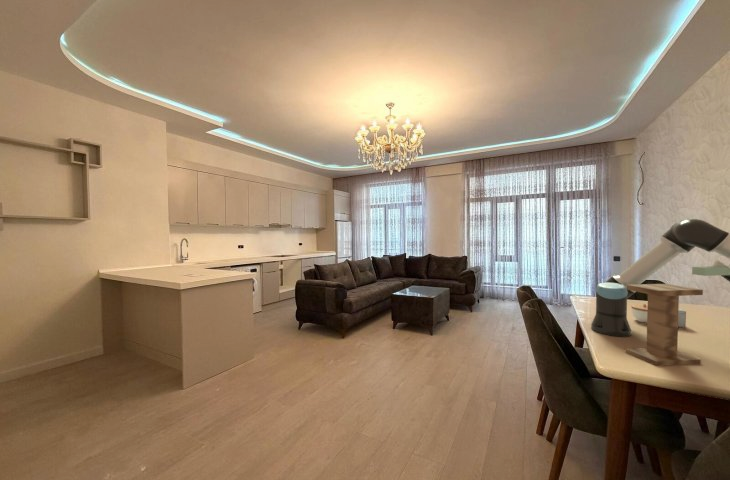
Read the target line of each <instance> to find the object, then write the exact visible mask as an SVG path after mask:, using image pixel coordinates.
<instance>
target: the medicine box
mask: <svg viewBox="0 0 730 480" xmlns="http://www.w3.org/2000/svg"><path fill="white" fill-rule="evenodd" d="M686 323H687V311H686V310H684V309H683V308H679V309H678V328H686V327H687V326H686V325H687V324H686Z"/></svg>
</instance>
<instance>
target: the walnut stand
mask: <svg viewBox="0 0 730 480" xmlns="http://www.w3.org/2000/svg"><path fill="white" fill-rule="evenodd" d="M627 290H631V291H636V292H637V293H640V294H641V293H642V294H646V295H647V306H648V311H647V323H646V347H635V348H634V347H632V348H625V353H627V354H629V355H631V356H634V357H636V358H637V359H640V360H643V361H645V362H647V363H650V364H653V366H654V365H655V366H656V367H658V366H674V365H675V366H677V365H678V366H679V365H697V364H699V363H701V361H702V360H701V359H700V358H698V357H695V356H692V355H689V354H687V353H684V352H680V351H678V340H679V339H678V337H679V334H678V333H679V327H678V309H680V308H679V306H680V304H679V303H680V296H703V295H704V290H703V289H702V288H701V289H700V288H695V287H690V286H683V285H682V286H681V285H676V284H672V283H646V284H645V283H643V284H642V283H641V284H639V285H627ZM636 292H635V293H636Z"/></svg>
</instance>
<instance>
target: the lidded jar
mask: <svg viewBox="0 0 730 480" xmlns="http://www.w3.org/2000/svg"><path fill="white" fill-rule="evenodd" d="M647 311H648V305H647V304H646V303H644V304H632V305H631V314H632V316H633V318H634V319H635V320H636V321H637V322H639V323H640V322H641V323H644V322H645V324H647Z"/></svg>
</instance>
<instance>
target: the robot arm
mask: <svg viewBox="0 0 730 480" xmlns="http://www.w3.org/2000/svg"><path fill="white" fill-rule="evenodd" d="M694 248H698V249H702V250H704V251H706V252H708V253H711V252H712V253H714V252H715V253H716V254H719V255H721V256H724V257H726V258H728V259H730V232H727V231H725V230H723V229H720V228H719V227H717V226H715V225H713V224H711V223H709V222H708V221H706V220H703V219H696V218H695V219H694V218H692V219H689V218H687V219H683V220H679V221H676V222H675V223H673V225H671V227H670V228H669V229H668V230H667V231H666V232H665V233H663V234H662V235H661V236H660V241H659V242H658V243H657V244H656V245H654V246H653V247H652V248H651V249H650V250H648V251H647V252H646V253H645V254H643V255H642V256H641V257H639V258H638V259H637V260H636V261H635V262H634V263H632V264H630V266H629V267H627V268H626V269H625V270H624V271H622V272H621V273H619V275H612V276H611V277H610V278H609V279H607V280H606V281H605V282H600V283H598V284H597V285H596V289H595V292H596V293H595V295H596V296H595V297H596V298H595V300H596V301H595V315H594V317H593V319H592V322H591V325H590V326H591V327H590V329H591V330H593V331H594V332H597V333H600V334H603V335H608V336H612V337H613V336H614V337H620V338H621V337H623V338H624V337H626V338H627V337H630V336H632V330H631V326H630V323H629V321H628V318H627V315H628V314H627V311H628V299H629V298H630V297H631V296H632V295H634V294H635V293H636V291H631V290H627V285H639V284H642V283H644V282H645V281H646V280H647V279H649V278H650V277H651V276H653V275H654V274H655V273H657V272H658V271H659V270H660V269H662V268H663V267H665V266H666V265H667V264H668V263H669V262H671V261H672V260H673V259H675V258H676V257H678V256H679V255H680V254H683V253H685V254H687V253H689V252H690V251H691V250H693V249H694ZM712 266H727V265H726V264H724V263H723V262H721V261H719V260H718V259H715V261H714V262H713V264H712ZM728 266H729V267H728V268H730V264H729V265H728ZM720 277H722V278H724V279H725V280H727V281H729V282H730V275H720Z"/></svg>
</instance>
